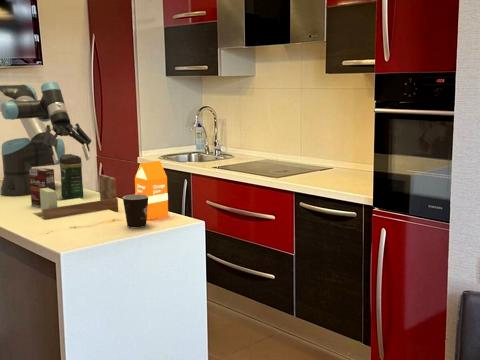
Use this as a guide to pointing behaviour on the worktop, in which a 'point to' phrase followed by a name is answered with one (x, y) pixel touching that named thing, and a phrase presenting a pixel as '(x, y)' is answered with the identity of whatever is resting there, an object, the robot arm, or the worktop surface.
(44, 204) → the bookend
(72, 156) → the coffee jar
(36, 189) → the supplement box
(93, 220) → the worktop surface
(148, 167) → the orange juice
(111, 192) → the shelf
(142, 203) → the coffee mug
